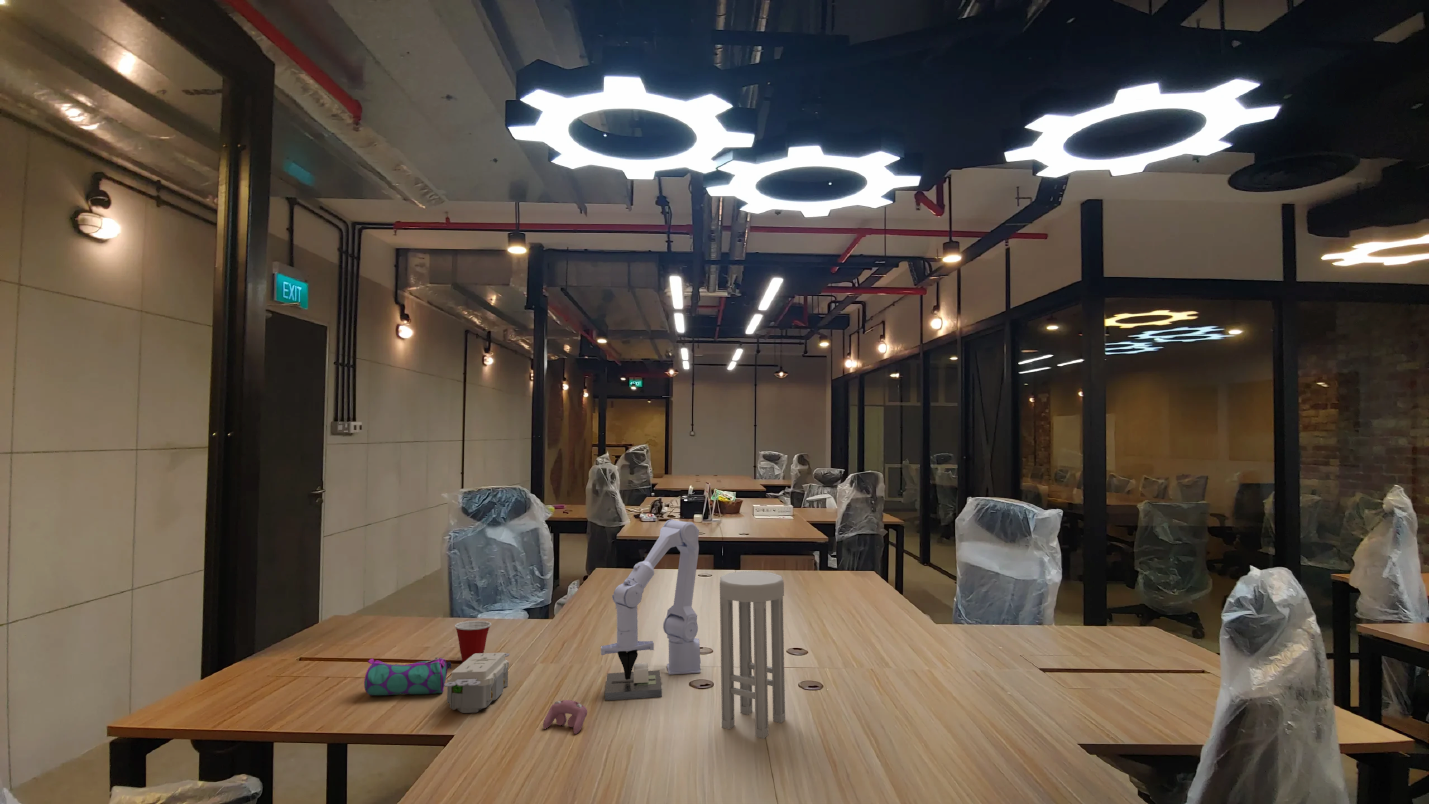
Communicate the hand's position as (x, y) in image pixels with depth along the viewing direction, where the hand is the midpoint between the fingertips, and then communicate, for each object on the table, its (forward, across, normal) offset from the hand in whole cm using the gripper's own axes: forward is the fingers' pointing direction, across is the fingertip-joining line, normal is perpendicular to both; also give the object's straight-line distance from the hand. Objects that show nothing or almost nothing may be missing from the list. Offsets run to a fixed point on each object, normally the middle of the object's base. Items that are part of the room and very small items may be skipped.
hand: (627, 678), depth 175 cm
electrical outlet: (+3, +39, -5) cm, 40 cm away
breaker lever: (0, -4, 0) cm, 4 cm away
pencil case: (+3, +59, -15) cm, 61 cm away
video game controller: (+3, +17, +19) cm, 26 cm away
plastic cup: (+3, +44, -35) cm, 56 cm away
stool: (+3, -27, +30) cm, 40 cm away
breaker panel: (+3, -2, 0) cm, 3 cm away
